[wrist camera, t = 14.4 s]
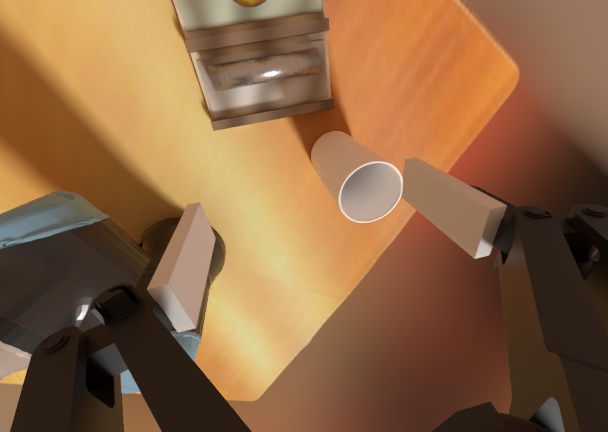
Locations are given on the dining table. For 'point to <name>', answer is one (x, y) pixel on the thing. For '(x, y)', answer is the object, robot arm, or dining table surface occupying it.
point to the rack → (257, 55)
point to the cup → (356, 177)
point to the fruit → (249, 2)
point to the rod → (264, 69)
